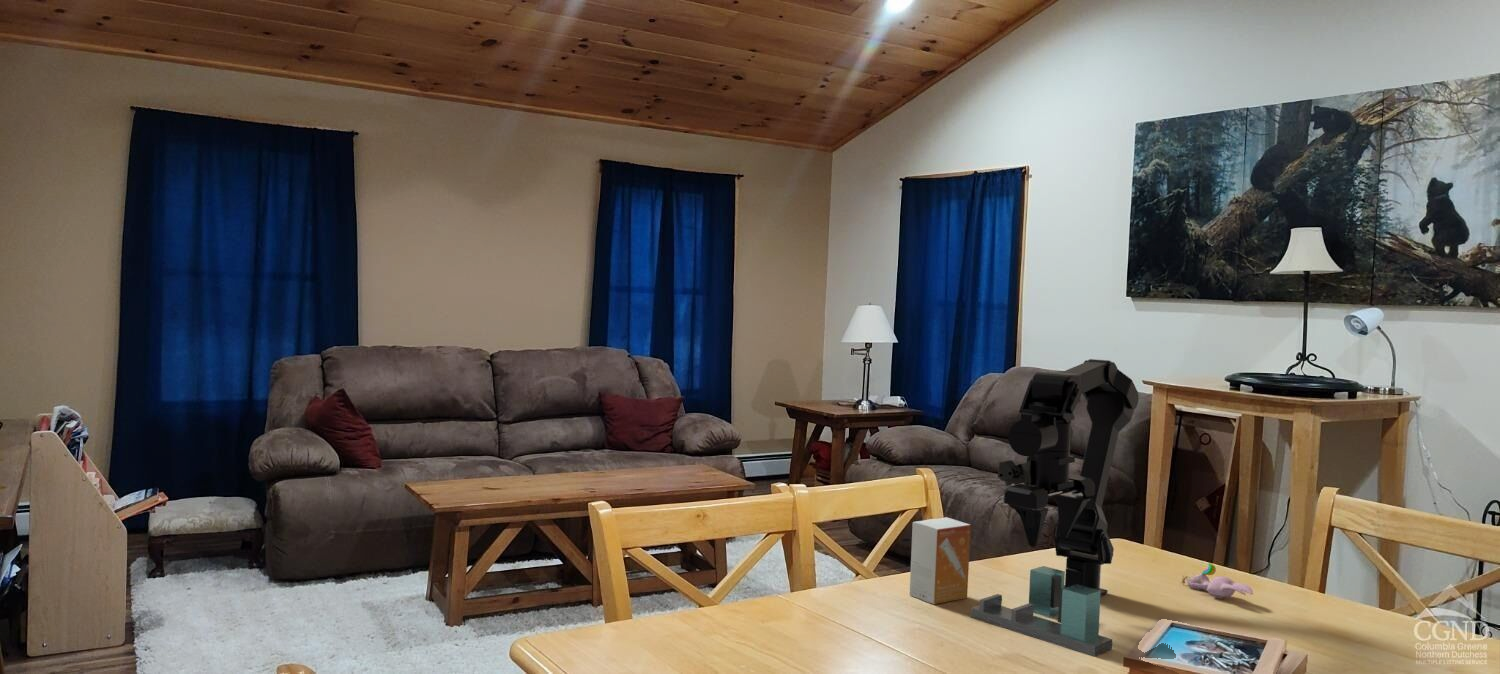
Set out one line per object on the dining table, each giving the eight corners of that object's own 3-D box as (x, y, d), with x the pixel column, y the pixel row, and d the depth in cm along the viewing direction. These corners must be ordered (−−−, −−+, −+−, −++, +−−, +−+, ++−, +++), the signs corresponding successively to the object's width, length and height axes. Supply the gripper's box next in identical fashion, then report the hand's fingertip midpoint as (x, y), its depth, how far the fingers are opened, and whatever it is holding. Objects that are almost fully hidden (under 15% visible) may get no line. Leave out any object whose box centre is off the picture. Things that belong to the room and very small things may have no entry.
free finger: (1041, 606, 173) (1043, 565, 172) (1066, 613, 169) (1068, 572, 169) (1028, 611, 170) (1030, 569, 170) (1052, 618, 167) (1054, 576, 166)
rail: (988, 611, 169) (990, 560, 169) (1112, 649, 153) (1114, 593, 153) (970, 617, 166) (972, 565, 166) (1094, 656, 150) (1097, 599, 149)
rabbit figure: (1174, 593, 188) (1234, 605, 173) (1172, 560, 188) (1232, 569, 174) (1203, 591, 189) (1264, 603, 175) (1200, 558, 190) (1262, 567, 176)
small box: (934, 605, 172) (937, 529, 171) (908, 595, 177) (911, 521, 176) (968, 598, 176) (971, 524, 175) (942, 588, 181) (945, 516, 181)
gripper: (1040, 437, 181) (1037, 524, 182) (977, 447, 168) (974, 541, 169) (1098, 446, 172) (1094, 537, 173) (1036, 457, 160) (1032, 555, 161)
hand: (1048, 542), depth 169 cm, fingers open, 9 cm apart
